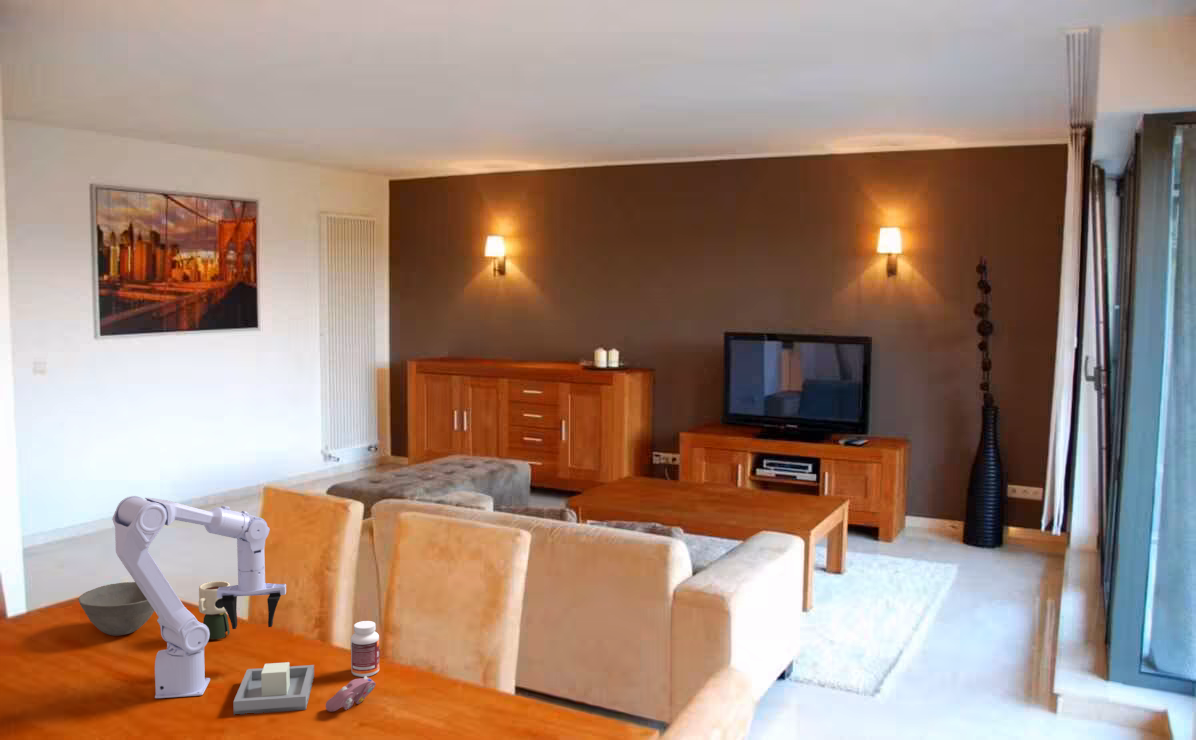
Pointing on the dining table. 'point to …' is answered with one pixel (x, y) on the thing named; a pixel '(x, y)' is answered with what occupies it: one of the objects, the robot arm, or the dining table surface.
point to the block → (275, 679)
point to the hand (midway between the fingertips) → (252, 626)
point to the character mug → (213, 609)
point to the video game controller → (351, 694)
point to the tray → (295, 699)
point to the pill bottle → (364, 649)
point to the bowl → (116, 608)
